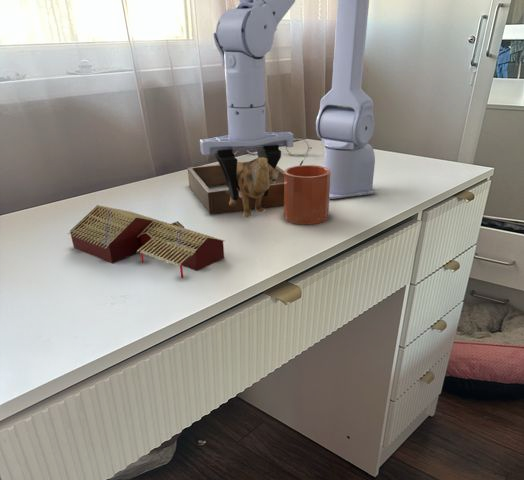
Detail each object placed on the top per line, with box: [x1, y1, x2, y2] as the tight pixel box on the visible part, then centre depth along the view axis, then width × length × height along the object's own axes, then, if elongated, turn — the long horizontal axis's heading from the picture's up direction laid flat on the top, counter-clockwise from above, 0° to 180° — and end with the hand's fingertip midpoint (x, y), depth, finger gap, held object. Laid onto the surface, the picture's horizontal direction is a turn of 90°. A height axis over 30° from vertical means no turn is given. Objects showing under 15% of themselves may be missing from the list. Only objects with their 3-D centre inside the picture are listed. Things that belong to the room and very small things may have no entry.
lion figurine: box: [226, 156, 279, 218], centre depth 82 cm, size 15×5×9 cm, turn 32°
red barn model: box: [67, 204, 226, 279], centre depth 77 cm, size 22×13×5 cm, turn 51°
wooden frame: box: [187, 160, 284, 215], centre depth 101 cm, size 18×19×4 cm
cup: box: [283, 164, 331, 226], centre depth 88 cm, size 8×8×8 cm
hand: (249, 196), depth 83 cm, fingers closed on lion figurine, 4 cm apart
